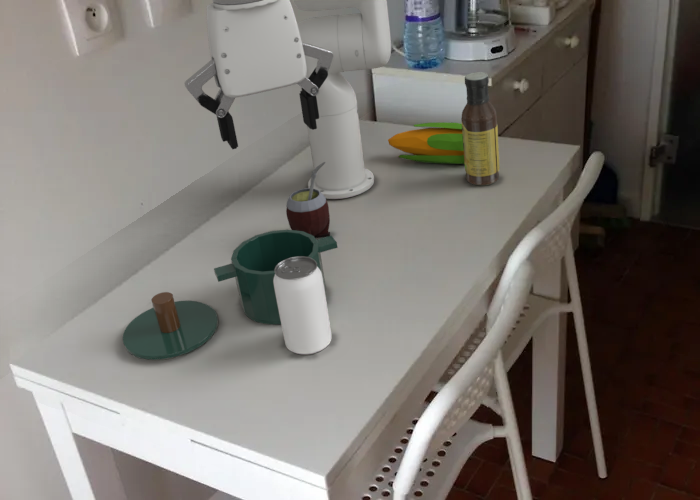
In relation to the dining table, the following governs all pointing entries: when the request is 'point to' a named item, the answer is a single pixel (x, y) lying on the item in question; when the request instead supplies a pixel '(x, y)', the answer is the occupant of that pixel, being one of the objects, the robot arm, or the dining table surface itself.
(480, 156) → the sauce bottle
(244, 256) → the pot
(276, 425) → the dining table surface
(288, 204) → the mate gourd
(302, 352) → the can
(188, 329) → the pot lid
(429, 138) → the corn
